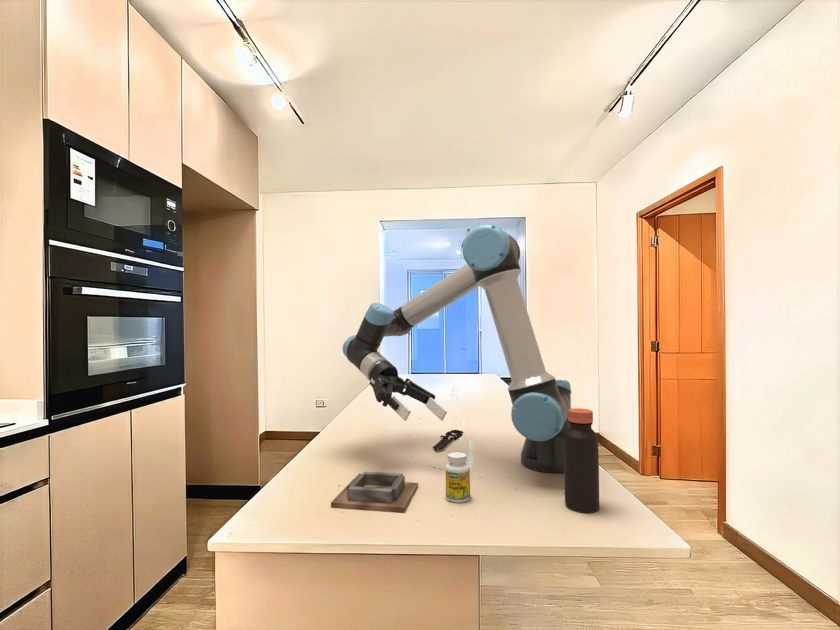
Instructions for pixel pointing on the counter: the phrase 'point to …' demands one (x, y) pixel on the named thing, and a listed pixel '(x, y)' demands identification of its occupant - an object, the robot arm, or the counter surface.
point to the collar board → (377, 492)
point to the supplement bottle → (457, 478)
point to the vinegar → (581, 462)
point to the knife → (445, 438)
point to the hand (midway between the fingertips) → (426, 416)
